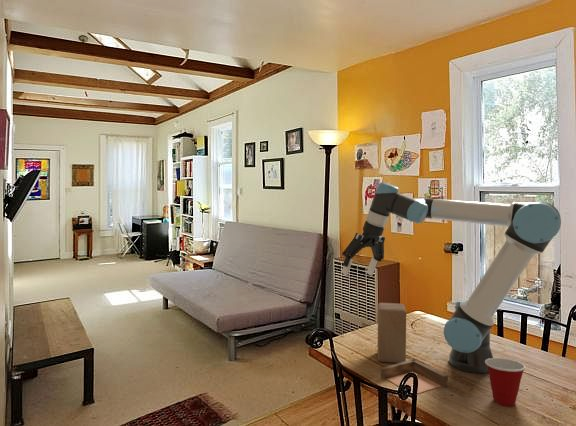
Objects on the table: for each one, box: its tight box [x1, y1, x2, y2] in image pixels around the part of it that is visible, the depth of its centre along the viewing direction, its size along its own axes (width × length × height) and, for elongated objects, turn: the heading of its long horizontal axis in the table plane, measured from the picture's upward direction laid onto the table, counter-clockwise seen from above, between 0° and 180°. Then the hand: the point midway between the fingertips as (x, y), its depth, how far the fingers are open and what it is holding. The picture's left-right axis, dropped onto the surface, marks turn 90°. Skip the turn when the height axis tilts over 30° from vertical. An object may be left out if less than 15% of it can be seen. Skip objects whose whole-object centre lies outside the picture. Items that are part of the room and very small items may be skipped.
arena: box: [380, 359, 449, 388], centre depth 136 cm, size 15×15×4 cm
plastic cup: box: [485, 357, 526, 407], centre depth 123 cm, size 11×11×12 cm
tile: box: [386, 371, 442, 395], centre depth 136 cm, size 12×12×1 cm
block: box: [377, 302, 407, 364], centre depth 155 cm, size 10×10×20 cm
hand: (357, 274), depth 159 cm, fingers open, 13 cm apart
